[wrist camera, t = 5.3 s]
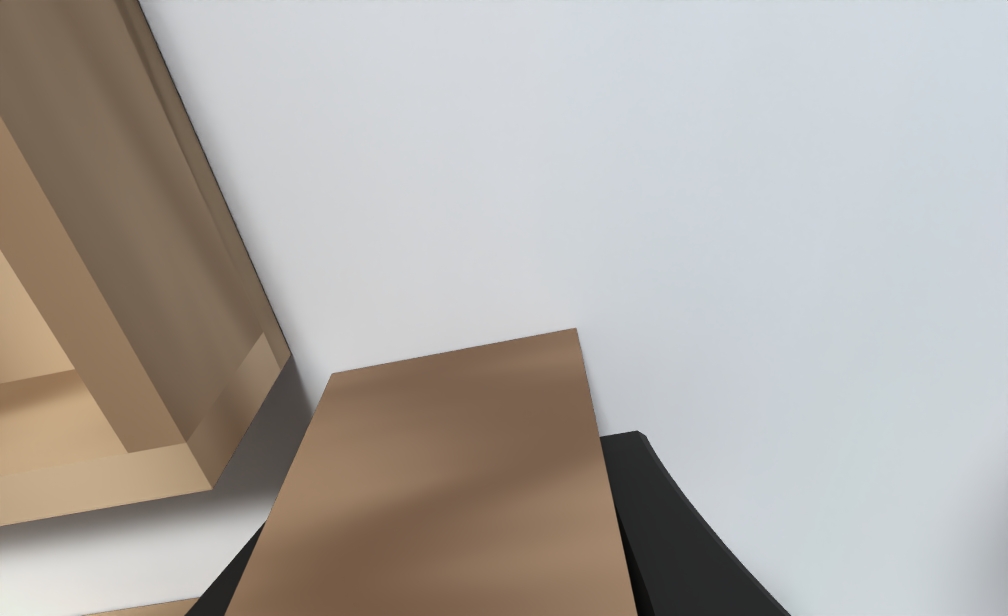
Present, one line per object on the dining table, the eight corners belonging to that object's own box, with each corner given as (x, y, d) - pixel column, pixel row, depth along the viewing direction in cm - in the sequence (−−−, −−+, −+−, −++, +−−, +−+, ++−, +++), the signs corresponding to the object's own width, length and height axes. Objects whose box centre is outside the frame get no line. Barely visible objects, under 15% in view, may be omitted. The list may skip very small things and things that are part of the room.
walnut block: (575, 327, 10) (664, 743, 4) (610, 513, 12) (704, 969, 6) (331, 373, 10) (139, 807, 5) (402, 546, 12) (320, 1001, 7)
